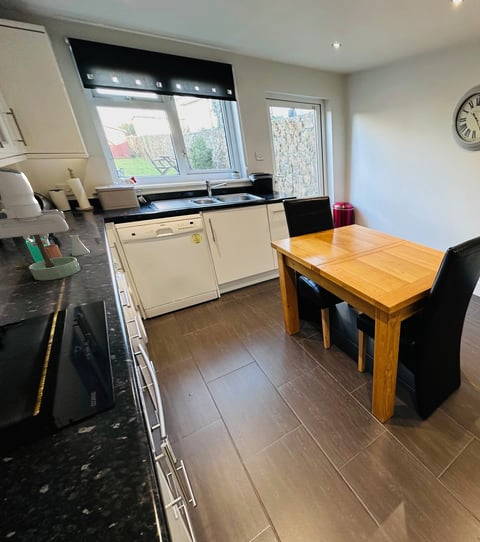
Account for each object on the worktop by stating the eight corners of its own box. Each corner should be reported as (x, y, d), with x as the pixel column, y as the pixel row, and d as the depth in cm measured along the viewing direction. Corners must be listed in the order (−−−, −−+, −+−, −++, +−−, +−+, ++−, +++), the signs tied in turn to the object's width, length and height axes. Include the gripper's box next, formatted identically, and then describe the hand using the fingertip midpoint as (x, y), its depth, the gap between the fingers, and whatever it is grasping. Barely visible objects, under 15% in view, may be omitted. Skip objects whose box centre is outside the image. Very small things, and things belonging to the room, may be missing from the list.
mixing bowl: (31, 284, 113) (25, 272, 110) (37, 273, 123) (32, 261, 120) (79, 275, 121) (74, 263, 119) (81, 265, 131) (77, 254, 129)
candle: (38, 259, 136) (27, 235, 131) (55, 257, 139) (45, 234, 134) (32, 263, 131) (20, 239, 127) (50, 261, 134) (39, 237, 129)
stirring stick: (47, 271, 120) (30, 235, 113) (47, 270, 121) (31, 234, 115) (55, 270, 121) (39, 234, 115) (56, 268, 123) (40, 233, 116)
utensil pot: (46, 268, 127) (38, 249, 124) (48, 264, 131) (40, 246, 128) (64, 265, 131) (56, 247, 127) (65, 261, 135) (58, 243, 131)
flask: (93, 253, 145) (86, 234, 141) (74, 257, 140) (66, 238, 136) (87, 250, 149) (80, 232, 145) (69, 254, 143) (61, 235, 139)
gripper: (62, 207, 119) (75, 238, 125) (-13, 213, 107) (5, 247, 113) (61, 210, 115) (74, 242, 121) (-18, 216, 103) (1, 251, 108)
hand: (40, 244), depth 116 cm, fingers closed on stirring stick, 2 cm apart
